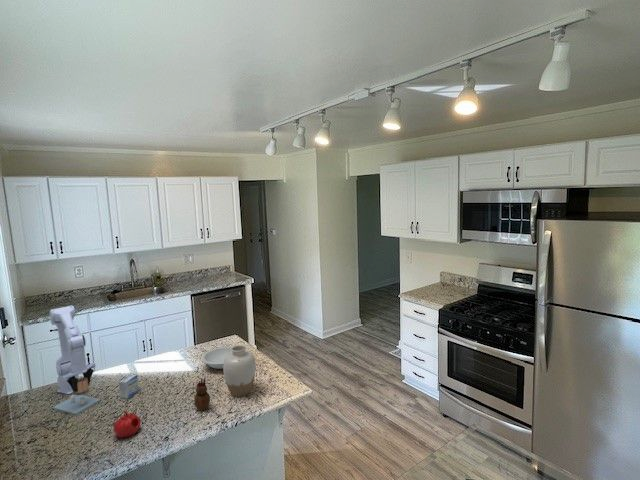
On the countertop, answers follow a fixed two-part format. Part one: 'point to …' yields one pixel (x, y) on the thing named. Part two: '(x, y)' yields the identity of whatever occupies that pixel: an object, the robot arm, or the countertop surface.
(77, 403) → the pin board
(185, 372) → the countertop surface
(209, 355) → the soup bowl
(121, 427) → the pomegranate
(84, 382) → the sleeve
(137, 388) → the medicine box
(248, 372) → the vase
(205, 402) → the wooden figurine
